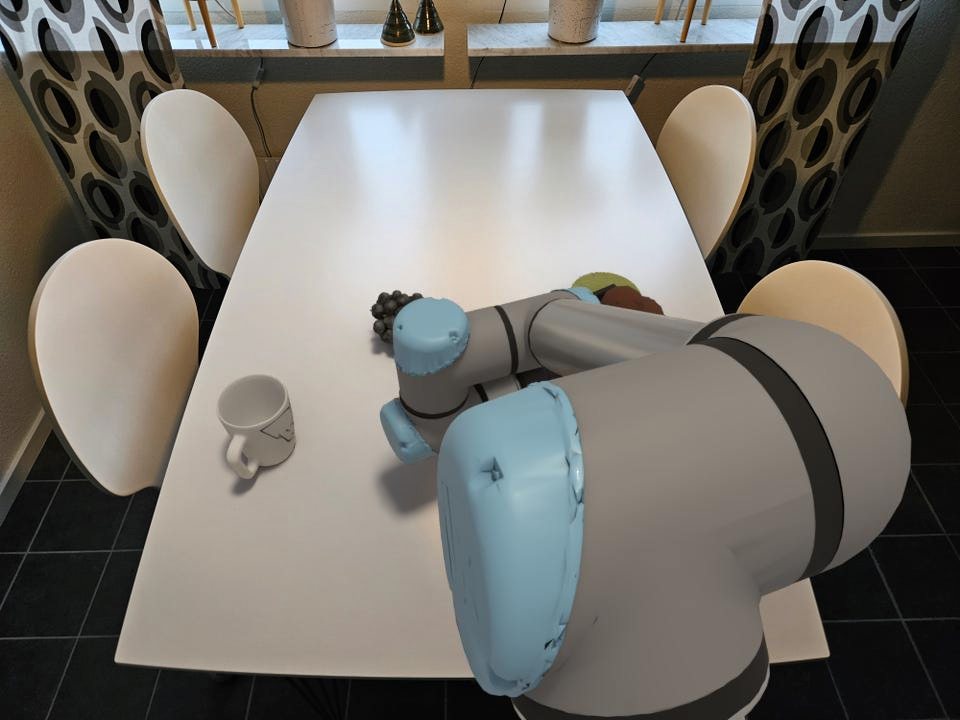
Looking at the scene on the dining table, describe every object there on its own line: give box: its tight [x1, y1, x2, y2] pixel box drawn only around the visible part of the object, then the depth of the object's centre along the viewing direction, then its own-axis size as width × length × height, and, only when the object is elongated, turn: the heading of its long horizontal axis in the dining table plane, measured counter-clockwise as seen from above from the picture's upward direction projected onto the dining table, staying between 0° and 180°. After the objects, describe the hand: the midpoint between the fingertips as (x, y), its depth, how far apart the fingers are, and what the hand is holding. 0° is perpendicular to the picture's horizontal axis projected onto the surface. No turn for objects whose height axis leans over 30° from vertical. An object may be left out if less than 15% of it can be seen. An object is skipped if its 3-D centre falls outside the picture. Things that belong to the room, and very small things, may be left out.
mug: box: [215, 373, 296, 480], centre depth 80 cm, size 11×8×10 cm
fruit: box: [369, 289, 425, 344], centre depth 96 cm, size 9×8×15 cm
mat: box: [570, 271, 641, 293], centre depth 104 cm, size 11×11×2 cm
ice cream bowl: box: [601, 286, 666, 316], centre depth 84 cm, size 11×11×15 cm
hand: (646, 322), depth 84 cm, fingers open, 13 cm apart
